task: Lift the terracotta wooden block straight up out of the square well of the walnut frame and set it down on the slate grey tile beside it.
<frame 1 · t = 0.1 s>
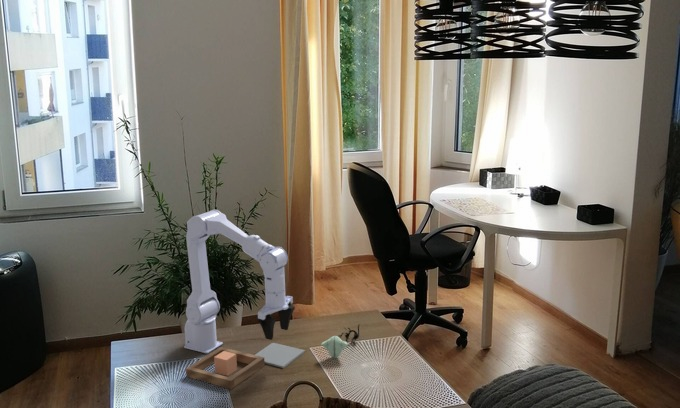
hand: (276, 333, 198), 10 cm above the table, tool pointing down, fingers open, 7 cm apart
terracotta block: (226, 371, 198), resting in well frame
creature: (347, 341, 217), on the table
pale green pointed piece: (335, 357, 205), on the table
well frame: (226, 370, 198), on the table
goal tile: (277, 355, 207), on the table
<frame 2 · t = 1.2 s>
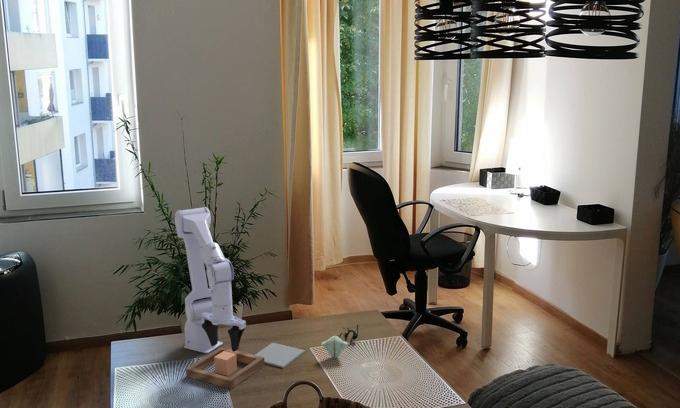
hand: (224, 347, 196), 7 cm above the table, tool pointing down, fingers open, 7 cm apart
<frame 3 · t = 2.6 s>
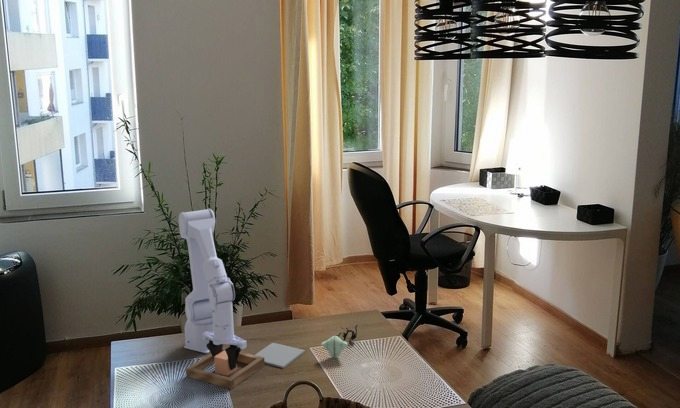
hand: (225, 366, 198), 1 cm above the table, tool pointing down, fingers closed on terracotta block, 4 cm apart
terracotta block: (226, 371, 198), resting in well frame, touching gripper
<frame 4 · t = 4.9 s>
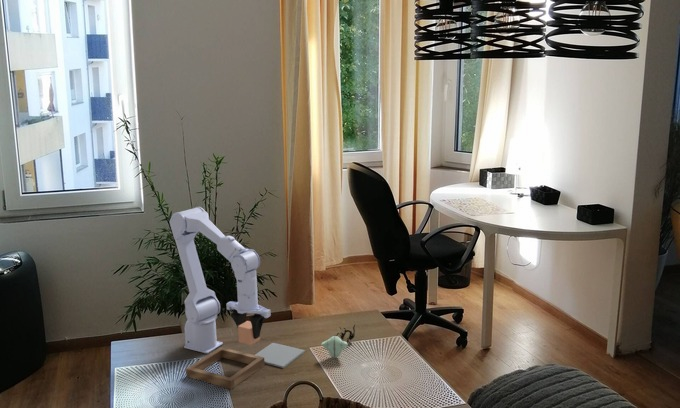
hand: (249, 335, 200), 9 cm above the table, tool pointing down, fingers closed on terracotta block, 4 cm apart
terracotta block: (249, 340, 200), point 7 cm above the table, touching gripper
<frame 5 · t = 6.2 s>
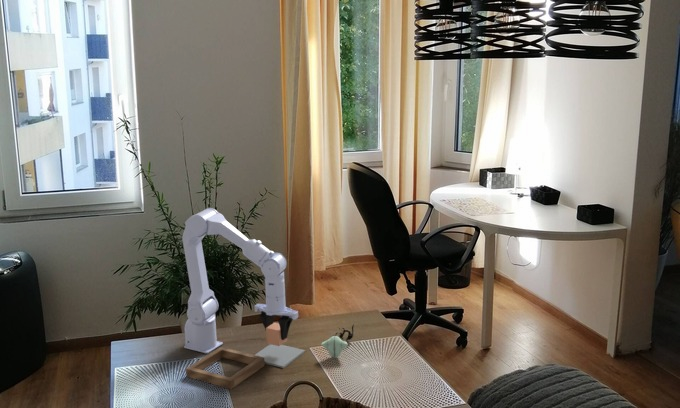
hand: (277, 337, 205), 6 cm above the table, tool pointing down, fingers closed on terracotta block, 4 cm apart
terracotta block: (277, 341, 206), point 5 cm above the table, touching gripper
when the fingers open (3 cm above the table, at t = 7.2 s): terracotta block stays where it is, resting on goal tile.
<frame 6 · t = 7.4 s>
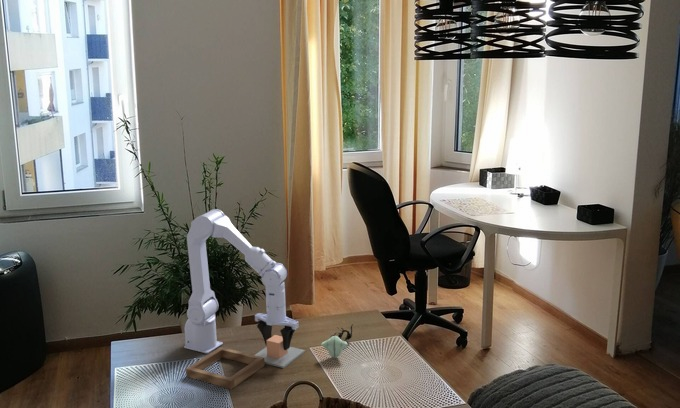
hand: (277, 346, 206), 3 cm above the table, tool pointing down, fingers open, 6 cm apart
terracotta block: (277, 354, 207), point 1 cm above the table, touching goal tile
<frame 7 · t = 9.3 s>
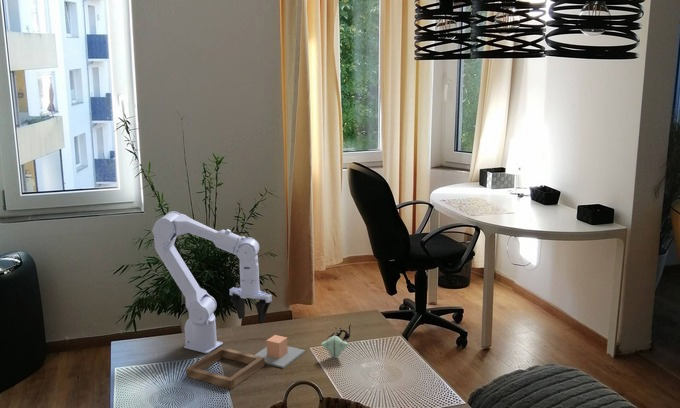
hand: (251, 320, 210), 9 cm above the table, tool pointing down, fingers open, 7 cm apart
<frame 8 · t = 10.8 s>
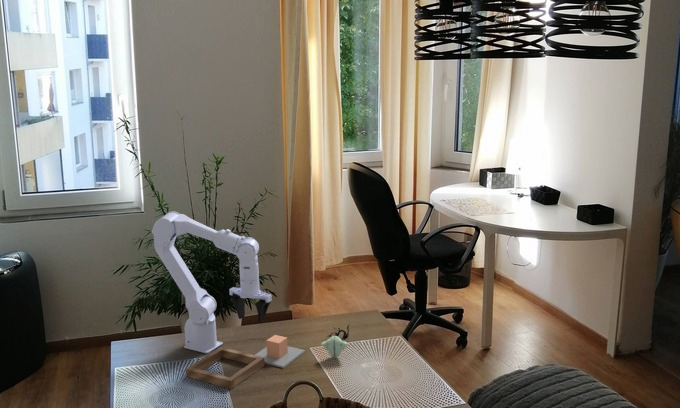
hand: (251, 319, 210), 9 cm above the table, tool pointing down, fingers open, 7 cm apart
at the end: terracotta block inside the target area on the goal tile (0.2 cm from its centre), point 0.6 cm above the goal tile's base; terracotta block tilted 0°; the gripper is holding nothing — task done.
